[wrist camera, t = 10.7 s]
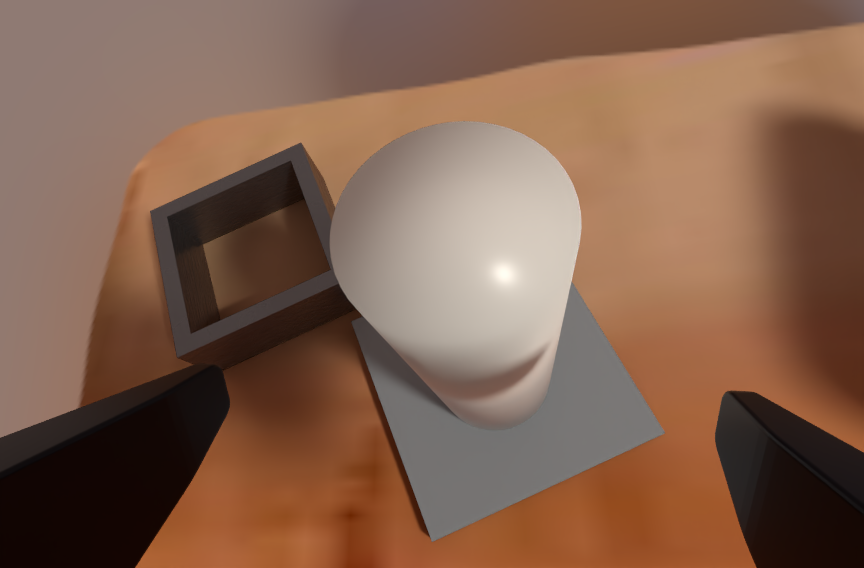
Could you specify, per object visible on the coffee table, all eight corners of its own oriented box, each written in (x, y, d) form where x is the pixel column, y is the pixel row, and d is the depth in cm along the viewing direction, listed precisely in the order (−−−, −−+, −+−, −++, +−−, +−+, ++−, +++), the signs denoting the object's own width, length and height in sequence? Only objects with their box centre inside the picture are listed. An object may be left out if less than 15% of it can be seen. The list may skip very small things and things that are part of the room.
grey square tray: (372, 301, 24) (353, 276, 21) (216, 373, 24) (177, 357, 21) (322, 177, 28) (301, 142, 25) (186, 239, 28) (150, 211, 25)
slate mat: (660, 434, 20) (665, 433, 19) (434, 540, 19) (432, 541, 19) (541, 239, 24) (542, 233, 23) (355, 325, 24) (351, 321, 23)
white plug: (554, 430, 20) (596, 339, 8) (437, 430, 21) (317, 349, 9) (545, 317, 22) (568, 108, 10) (438, 322, 22) (340, 134, 11)
